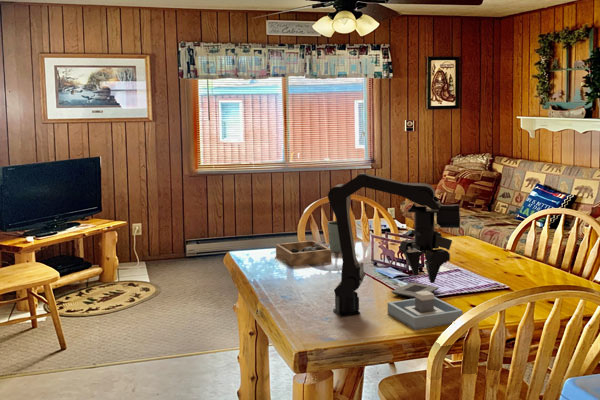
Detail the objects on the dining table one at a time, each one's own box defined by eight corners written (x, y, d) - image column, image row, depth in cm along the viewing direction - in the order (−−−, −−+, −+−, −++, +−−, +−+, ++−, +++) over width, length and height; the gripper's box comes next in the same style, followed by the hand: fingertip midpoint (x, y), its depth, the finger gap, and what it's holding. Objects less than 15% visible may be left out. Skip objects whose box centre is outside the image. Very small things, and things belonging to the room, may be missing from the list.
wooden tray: (291, 266, 266) (291, 253, 265) (276, 255, 284) (275, 244, 283) (331, 261, 272) (331, 249, 271) (313, 251, 290) (313, 240, 289)
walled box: (414, 329, 192) (414, 318, 192) (387, 313, 207) (387, 302, 206) (462, 322, 198) (462, 310, 197) (432, 306, 213) (432, 295, 212)
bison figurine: (325, 259, 277) (306, 255, 283) (325, 242, 276) (306, 238, 282) (307, 266, 268) (288, 261, 274) (308, 248, 267) (288, 244, 273)
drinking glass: (326, 252, 288) (326, 224, 286) (329, 247, 298) (329, 220, 296) (350, 252, 286) (350, 224, 285) (352, 247, 296) (352, 220, 294)
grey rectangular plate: (411, 288, 235) (411, 281, 234) (439, 293, 228) (439, 286, 228) (391, 297, 225) (391, 290, 224) (419, 303, 218) (419, 295, 218)
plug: (421, 318, 200) (422, 295, 199) (415, 314, 203) (415, 292, 202) (433, 316, 201) (433, 294, 200) (426, 312, 205) (426, 290, 204)
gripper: (466, 230, 192) (465, 283, 195) (431, 219, 210) (430, 268, 212) (432, 234, 188) (432, 288, 191) (399, 222, 206) (399, 272, 208)
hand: (424, 278), depth 201 cm, fingers open, 9 cm apart
